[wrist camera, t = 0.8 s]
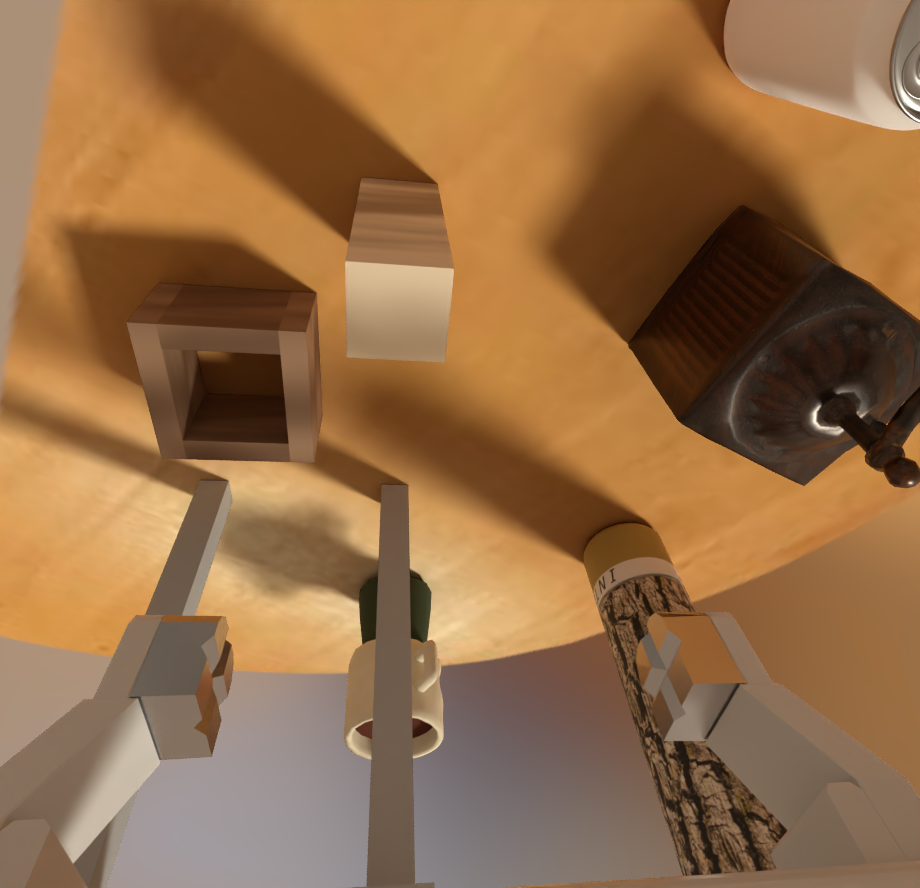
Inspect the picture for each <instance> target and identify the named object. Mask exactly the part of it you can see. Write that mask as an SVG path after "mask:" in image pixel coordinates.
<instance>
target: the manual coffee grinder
mask: <svg viewBox="0 0 920 888" xmlns="http://www.w3.org/2000/svg"><path fill="white" fill-rule="evenodd" d="M628 346H629V348H630V349H631V350H632V351H633V353H634V354H635V356H636V358H637V359H638V361H639V362H640V364H641V365H642V367H643V368H644V370H645V372H646V373H647V375H648V376H649V378H650V379H651V381H652V382H653V384H654V386H655V387H656V388H657V390H658V391H659V393H660V394H661V396H662V397H663V399H664V400H665V402H666V403H667V405H668V406H669V408H670V409H671V411H672V412H673V414H674V415H675V417H676V419H677V420H678V421H679V422H680V423H682V424H683V425H685V426H686V427H688V428H690V429H692V430H693V431H695V432H697V433H698V434H700V435H702V436H704V437H705V438H707V439H709V440H711V441H713V442H715V443H718V444H720V445H722V446H724V447H726V448H728V449H730V450H732V451H734V452H736V453H738V454H740V455H742V456H743V457H745V458H747V459H749V460H751V461H753V462H755V463H757V464H759V465H761V466H763V467H765V468H767V469H769V470H771V471H773V472H775V473H777V474H779V475H781V476H783V477H786V478H788V479H790V480H792V481H794V482H796V483H799V484H801V485H803V486H805V485H806V484H807V483H808V482H809V481H811V480H812V479H813V478H814V477H816V476H817V475H818V474H819V473H820V472H822V471H823V470H824V469H825V468H826V467H828V466H829V465H830V464H831V463H833V462H834V461H835V460H836V459H837V458H839V457H840V456H841V455H842V454H843V453H845V452H846V451H848V450H850V449H851V448H853V447H855V446H856V445H858V444H859V445H860V446H861V447H862V448H863V450H864V451H865V452H866V455H865V462H866V463H867V464H868V465H869V466H870V467H872V468H874V469H875V470H877V471H880V472H884V474H885V476H886V478H887V480H888V481H889V483H890V484H891V485H893V486H894V487H900V488H910V487H914V486H916V485H917V484H918V483H919V482H920V468H919V466H918V465H917V463H916V462H915V461H913V460H910V459H908V458H905V452H904V450H903V448H902V446H903V444H904V443H905V441H906V440H907V438H908V437H909V435H910V434H911V432H912V431H913V429H914V428H915V427H916V426H917V424H918V423H919V422H920V320H919V319H917V318H916V317H914V316H913V315H912V314H910V313H909V312H908V311H906V310H905V309H903V308H902V307H901V306H899V305H898V304H897V303H895V302H894V301H893V300H891V299H890V298H889V297H888V296H886V295H885V294H884V293H883V292H881V291H880V290H879V289H877V288H876V287H875V286H874V285H872V284H871V283H870V282H868V281H866V280H864V279H862V278H860V277H858V276H857V275H855V274H853V273H851V272H849V271H847V270H845V269H844V268H842V267H841V266H839V265H838V264H836V263H835V262H833V261H832V260H830V259H829V258H827V257H826V256H825V255H823V254H822V253H821V252H819V251H818V250H817V249H815V248H814V247H813V246H811V245H810V244H809V243H808V242H806V241H805V240H803V239H802V238H801V237H799V236H798V235H796V234H795V233H793V232H792V231H791V230H789V229H788V228H786V227H785V226H784V225H782V224H780V223H778V222H776V221H774V220H772V219H770V218H768V217H766V216H764V215H762V214H760V213H758V212H756V211H754V210H752V209H750V208H748V207H746V206H740V207H739V208H738V209H737V210H736V211H735V212H733V213H732V214H731V215H730V216H729V217H728V218H727V219H726V220H725V221H724V222H723V223H722V224H721V225H720V226H719V227H718V228H717V229H716V230H715V232H714V233H713V234H712V235H711V236H710V238H709V239H708V240H707V241H706V243H705V244H704V245H703V246H702V247H701V249H700V250H699V251H698V252H697V254H696V255H695V256H694V257H693V259H692V260H691V261H690V262H689V264H688V265H687V266H686V267H685V269H684V270H683V271H682V273H681V274H680V275H679V276H678V278H677V279H676V280H675V281H674V283H673V284H672V285H671V286H670V288H669V289H668V290H667V292H666V293H665V294H664V296H663V297H662V299H661V300H660V301H659V303H658V304H657V305H656V307H655V308H654V309H653V311H652V312H651V314H650V315H649V316H648V318H647V319H646V320H645V322H644V323H643V324H642V326H641V327H640V329H639V330H638V331H637V333H636V334H635V335H634V337H633V338H632V340H631V341H630V342H629V344H628ZM904 401H905V402H904ZM903 402H904V404H903ZM902 404H903V405H902ZM901 405H902V406H901ZM888 422H889V423H888ZM887 423H888V425H886V424H887Z"/></svg>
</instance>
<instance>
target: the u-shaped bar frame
mask: <svg viewBox="0 0 920 888" xmlns="http://www.w3.org/2000/svg"><path fill="white" fill-rule="evenodd" d="M231 503H232V497H231V491H230V486H229V481H210V480H200V481H199V483H198V486H197V488H196V491H195V493H194V496H193V498H192V501H191V503H190V506H189V508H188V511H187V513H186V515H185V518H184V520H183V523H182V525H181V528H180V530H179V533H178V535H177V538H176V540H175V543H174V545H173V548H172V550H171V552H170V555H169V557H168V560H167V562H166V565H165V567H164V570H163V572H162V575H161V577H160V580H159V582H158V585H157V587H156V589H155V592H154V594H153V597H152V599H151V602H150V604H149V607H148V609H147V612H146V614H145V615H180V616H195V614H196V611H197V608H198V605H199V602H200V599H201V596H202V592H203V589H204V586H205V583H206V580H207V577H208V574H209V571H210V568H211V565H212V562H213V559H214V556H215V553H216V549H217V546H218V543H219V540H220V537H221V534H222V531H223V528H224V525H225V522H226V519H227V516H228V513H229V510H230V506H231ZM138 789H139V788H138ZM137 792H138V790H137V791H136V792H135V793H134V794H133V795H132V796H131V798H130V799H129V800H128V801H127V802H126V803H125V805H124V806H123V807H122V808H121V809H120V810H119V811H118V813H117V814H116V815H115V816H114V817H113V818H112V820H111V821H110V822H109V823H108V824H107V825H106V826H105V828H104V829H103V830H102V831H101V832H100V833H99V835H98V836H97V837H96V838H95V839H94V840H93V842H92V843H91V844H90V845H89V846H88V847H87V848H86V850H85V851H84V852H83V853H82V854H81V855H80V857H79V858H78V859H77V860H76V861H75V862H74V863H73V864H74V866H75V867H76V869H77V871H78V872H79V874H80V875H81V877H82V879H83V880H84V882H85V883H86V885H87V887H88V888H106V887H107V884H108V881H109V878H110V875H111V872H112V869H113V866H114V862H115V860H116V856H117V853H118V850H119V847H120V844H121V841H122V838H123V835H124V832H125V829H126V826H127V823H128V820H129V817H130V814H131V810H132V807H133V804H134V801H135V798H136V795H137ZM369 812H370V813H369V837H368V839H369V840H368V865H367V887H355V888H434V883H418V884H415V860H414V859H415V858H414V798H413V738H412V678H411V619H410V559H409V500H408V485H383V484H381V511H380V538H379V565H378V593H377V620H376V647H375V674H374V701H373V728H372V755H371V782H370V810H369Z"/></svg>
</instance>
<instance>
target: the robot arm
mask: <svg viewBox="0 0 920 888" xmlns="http://www.w3.org/2000/svg"><path fill="white" fill-rule="evenodd" d="M647 627H648V629H649V632H650V633H649V634H648V635H646V636H645V637H643V638H642V639H641V640H640V643H639V646H638V648H637V669H638V674H639V678H640V680H641V683H642V686H643V688H644V689H645V690H647V691H648V692H649V693H650V694H651V695H652V696H653V697H654V701H653V704H652V707H651V709H652V712H653V715H654V717H655V720H656V722H657V725H658V727H659V730H660V733H661V735H662V738H663V740H664V741H706V744H707V745H708V746H709V748H710V749H711V750H712V751H713V752H714V753H715V754H716V755H717V756H718V757H719V758H720V759H721V760H722V761H723V762H724V763H725V764H726V766H727V767H728V768H729V769H730V770H731V771H732V772H733V773H734V774H735V775H736V776H737V777H738V778H739V779H740V780H741V781H742V783H743V784H744V785H745V786H746V787H747V788H748V789H749V790H750V791H751V792H752V793H753V794H754V795H755V796H756V797H757V798H758V800H759V801H760V802H761V803H762V804H763V805H764V806H765V807H766V808H767V809H768V810H769V811H770V812H771V813H772V814H773V815H774V817H775V818H776V819H777V820H778V821H779V822H780V823H781V824H782V825H783V826H784V827H785V828H786V829H787V830H788V831H787V832H786V833H785V835H784V836H783V837H782V838H781V839H780V840H779V842H778V843H777V844H776V845H775V846H774V848H773V850H772V853H771V857H772V859H773V862H774V864H775V866H776V868H777V870H767V871H752V872H736V873H721V874H705V875H690V876H675V877H660V878H644V879H628V880H613V881H598V882H583V883H567V884H552V885H537V886H520V887H505V888H920V798H919V796H918V795H917V793H916V792H915V791H914V789H913V788H912V786H911V785H910V783H909V782H908V780H907V779H906V778H905V777H904V776H902V775H901V774H900V773H899V772H897V771H896V770H895V769H893V768H892V767H891V766H889V765H888V764H887V763H885V762H884V761H883V760H881V759H880V758H879V757H877V756H876V755H875V754H873V753H872V752H871V751H869V750H868V749H867V748H865V747H864V746H863V745H861V744H860V743H859V742H857V741H856V740H855V739H853V738H852V737H851V736H850V735H848V734H847V733H845V732H844V731H843V730H842V729H840V728H839V727H837V726H836V725H835V724H834V723H832V722H831V721H830V720H828V719H827V718H825V717H824V716H823V715H822V714H820V713H819V712H818V711H816V710H815V709H814V708H812V707H811V706H809V705H808V704H807V703H806V702H804V701H803V700H802V699H800V698H799V697H798V696H796V695H795V694H794V693H792V692H791V691H790V690H788V689H787V688H786V687H784V686H783V685H782V684H775V683H773V682H772V681H771V679H770V677H769V675H768V674H767V672H766V670H765V669H764V667H763V665H762V664H761V662H760V661H759V659H758V657H757V656H756V654H755V652H754V650H753V649H752V647H751V645H750V644H749V642H748V640H747V639H746V637H745V635H744V634H743V632H742V630H741V629H740V627H739V625H738V623H737V622H736V620H735V618H734V617H733V616H732V615H731V614H730V613H728V612H659V613H654V614H653V615H651V616H650V618H649V620H648V623H647ZM228 629H229V628H228V624H227V619H226V617H224V616H180V615H136V616H135V617H134V618H133V619H132V620H131V621H130V623H129V624H128V626H127V628H126V630H125V632H124V635H123V637H122V639H121V641H120V643H119V645H118V647H117V649H116V652H115V654H114V656H113V658H112V660H111V662H110V664H109V667H108V669H107V671H106V673H105V675H104V677H103V679H102V681H101V684H100V686H99V688H98V690H97V692H96V694H95V696H94V698H93V699H84V700H83V701H81V702H80V703H79V704H78V705H76V706H75V707H74V708H73V709H71V710H70V711H69V712H68V713H67V714H65V715H64V716H63V717H62V718H60V719H59V720H58V721H57V722H55V723H54V724H53V725H52V726H50V727H49V728H48V729H47V730H46V731H44V732H43V733H42V734H41V735H39V736H38V737H37V738H36V739H35V740H33V741H32V742H31V743H30V744H28V745H27V746H26V747H25V748H24V749H22V750H21V751H20V752H19V753H17V754H16V755H15V756H14V757H12V758H11V759H10V760H9V761H7V762H6V763H5V764H4V765H3V766H1V767H0V888H88V887H87V885H86V883H85V882H84V880H83V879H82V877H81V875H80V874H79V872H78V871H77V869H76V867H75V866H74V864H73V863H74V862H75V861H76V860H77V859H78V858H79V857H80V855H81V854H82V853H83V852H84V851H85V850H86V848H87V847H88V846H89V845H90V844H91V843H92V842H93V840H94V839H95V838H96V837H97V836H98V835H99V833H100V832H101V831H102V830H103V829H104V828H105V826H106V825H107V824H108V823H109V822H110V821H111V820H112V818H113V817H114V816H115V815H116V814H117V813H118V811H119V810H120V809H121V808H122V807H123V806H124V805H125V803H126V802H127V801H128V800H129V799H130V798H131V796H132V795H133V794H134V793H135V792H136V791H137V790H138V788H139V787H140V786H141V785H142V784H143V783H144V781H145V780H146V779H147V778H148V777H149V776H150V774H151V773H152V772H153V771H154V770H155V769H156V768H157V766H158V765H159V764H160V760H167V759H184V758H200V757H212V754H213V750H214V746H215V742H216V739H217V735H218V731H219V727H220V723H221V716H220V712H219V705H220V704H221V703H222V702H223V701H224V700H225V699H226V698H227V697H228V693H229V689H230V685H231V680H232V672H233V650H232V644H230V643H229V642H228V641H226V636H227V633H228Z"/></svg>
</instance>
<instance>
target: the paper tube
mask: <svg viewBox="0 0 920 888" xmlns="http://www.w3.org/2000/svg"><path fill="white" fill-rule="evenodd" d="M583 560H584V565H585V568H586V571H587V575H588V578H589V581H590V584H591V587H592V590H593V593H594V598H595V601H596V604H597V607H598V610H599V613H600V616H601V620H602V623H603V626H604V629H605V632H606V635H607V638H608V642H609V644H610V648H611V651H612V654H613V657H614V660H615V663H616V667H617V670H618V673H619V676H620V679H621V682H622V685H623V688H624V692H625V695H626V698H627V701H628V704H629V707H630V711H631V714H632V717H633V720H634V723H635V726H636V729H637V733H638V736H639V739H640V742H641V745H642V748H643V751H644V754H645V758H646V761H647V764H648V767H649V770H650V773H651V777H652V779H653V783H654V786H655V789H656V792H657V795H658V799H659V802H660V805H661V808H662V811H663V814H664V817H665V820H666V824H667V827H668V830H669V833H670V836H671V839H672V842H673V845H674V849H675V852H676V855H677V858H678V861H679V864H680V868H681V871H682V874H683V876H690V875H705V874H721V873H736V872H752V871H767V870H777V868H776V866H775V864H774V862H773V859H772V857H771V853H772V850H773V848H774V846H775V845H776V844H777V843H778V842H779V840H780V839H781V838H782V837H783V836H784V835H785V833H786V832H787V831H788V830H787V829H786V828H785V827H784V826H783V825H782V824H781V823H780V822H779V821H778V820H777V819H776V818H775V817H774V815H773V814H772V813H771V812H770V811H769V810H768V809H767V808H766V807H765V806H764V805H763V804H762V803H761V802H760V801H759V800H758V798H757V797H756V796H755V795H754V794H753V793H752V792H751V791H750V790H749V789H748V788H747V787H746V786H745V785H744V784H743V783H742V781H741V780H740V779H739V778H738V777H737V776H736V775H735V774H734V773H733V772H732V771H731V770H730V769H729V768H728V767H727V766H726V764H725V763H724V762H723V761H722V760H721V759H720V758H719V757H718V756H717V755H716V754H715V753H714V752H713V751H712V750H711V749H710V748H709V746H708V745H707V744H706V741H664V740H663V738H662V735H661V733H660V730H659V727H658V725H657V722H656V720H655V717H654V715H653V712H652V709H651V707H652V704H653V701H654V697H653V696H652V695H651V694H650V693H649V692H648V691H647V690H645V689H644V688H643V686H642V683H641V680H640V678H639V674H638V669H637V648H638V646H639V643H640V640H641V639H642V638H643V637H645V636H646V635H648V634H649V633H650V632H649V629H648V627H647V623H648V620H649V618H650V616H651V615H653V614H654V613H659V612H696V611H695V609H694V607H693V605H692V602H691V600H690V598H689V596H688V594H687V592H686V590H685V588H684V586H683V583H682V581H681V579H680V577H679V575H678V573H677V571H676V569H675V567H674V565H673V563H672V561H671V559H670V557H669V555H668V552H667V550H666V548H665V546H664V544H663V542H662V540H661V538H660V536H659V535H658V533H657V532H656V531H654V530H653V529H651V528H650V527H647V526H645V525H642V524H638V523H622V524H617V525H614V526H611V527H608V528H606V529H604V530H602V531H601V532H599V533H598V534H596V535H595V536H594V537H593V538H592V539H591V540H590V541H589V543H588V544H587V546H586V549H585V551H584V555H583Z"/></svg>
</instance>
